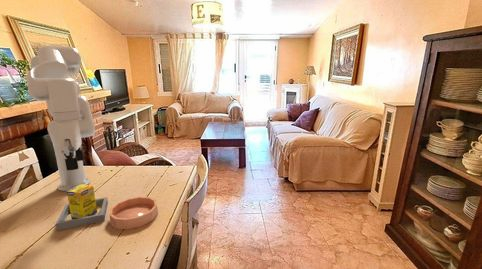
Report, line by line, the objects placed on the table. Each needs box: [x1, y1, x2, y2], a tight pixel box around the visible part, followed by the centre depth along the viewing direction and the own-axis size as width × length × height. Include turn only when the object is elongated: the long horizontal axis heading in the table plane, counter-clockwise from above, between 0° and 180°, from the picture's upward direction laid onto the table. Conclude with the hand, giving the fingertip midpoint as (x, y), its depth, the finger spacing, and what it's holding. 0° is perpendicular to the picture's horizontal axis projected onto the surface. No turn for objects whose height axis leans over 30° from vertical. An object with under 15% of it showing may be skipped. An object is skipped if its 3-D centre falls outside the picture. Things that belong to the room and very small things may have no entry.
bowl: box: [108, 196, 159, 230], centre depth 90 cm, size 16×16×4 cm
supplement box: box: [66, 184, 98, 220], centre depth 90 cm, size 6×6×11 cm
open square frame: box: [55, 196, 109, 232], centre depth 91 cm, size 14×14×2 cm
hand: (75, 164), depth 86 cm, fingers open, 9 cm apart
